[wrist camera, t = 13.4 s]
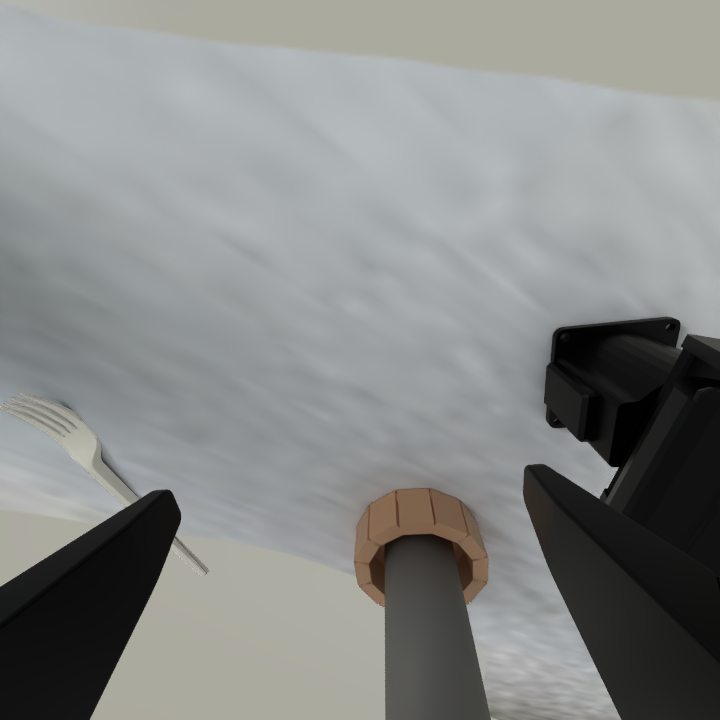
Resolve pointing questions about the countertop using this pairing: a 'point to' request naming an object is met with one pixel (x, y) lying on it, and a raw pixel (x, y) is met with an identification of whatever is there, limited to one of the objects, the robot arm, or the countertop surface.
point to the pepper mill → (428, 635)
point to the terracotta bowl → (418, 516)
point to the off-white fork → (87, 455)
